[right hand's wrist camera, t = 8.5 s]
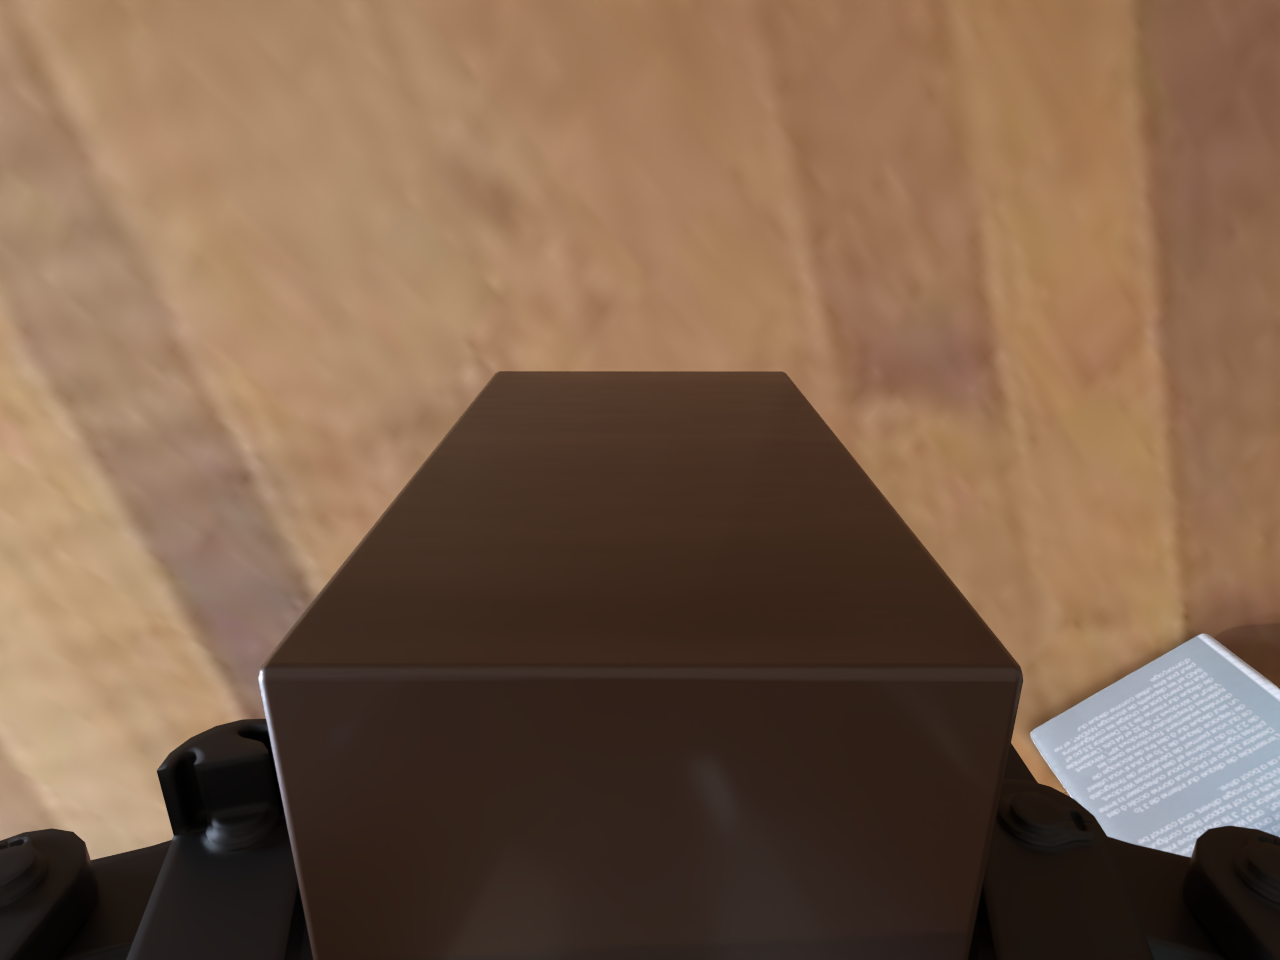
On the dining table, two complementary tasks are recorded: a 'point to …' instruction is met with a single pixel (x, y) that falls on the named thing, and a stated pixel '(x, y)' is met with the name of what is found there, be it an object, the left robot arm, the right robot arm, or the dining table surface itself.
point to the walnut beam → (640, 695)
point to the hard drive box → (1173, 749)
